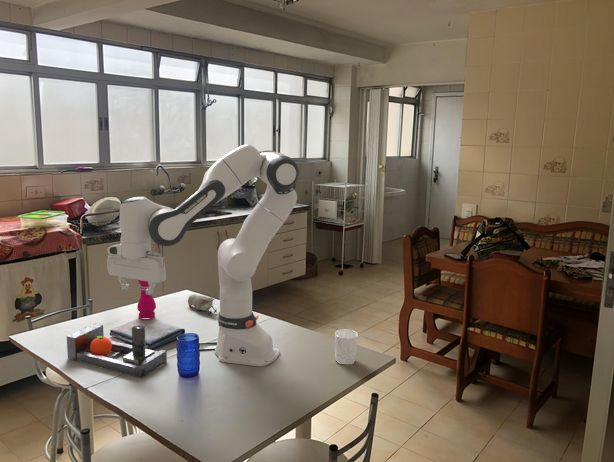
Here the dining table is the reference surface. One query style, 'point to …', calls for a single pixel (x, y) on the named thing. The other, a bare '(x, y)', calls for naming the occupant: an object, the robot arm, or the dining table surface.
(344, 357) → the white cup
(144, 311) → the pepper mill
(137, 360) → the ram
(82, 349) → the press
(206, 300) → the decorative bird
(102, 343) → the clementine
